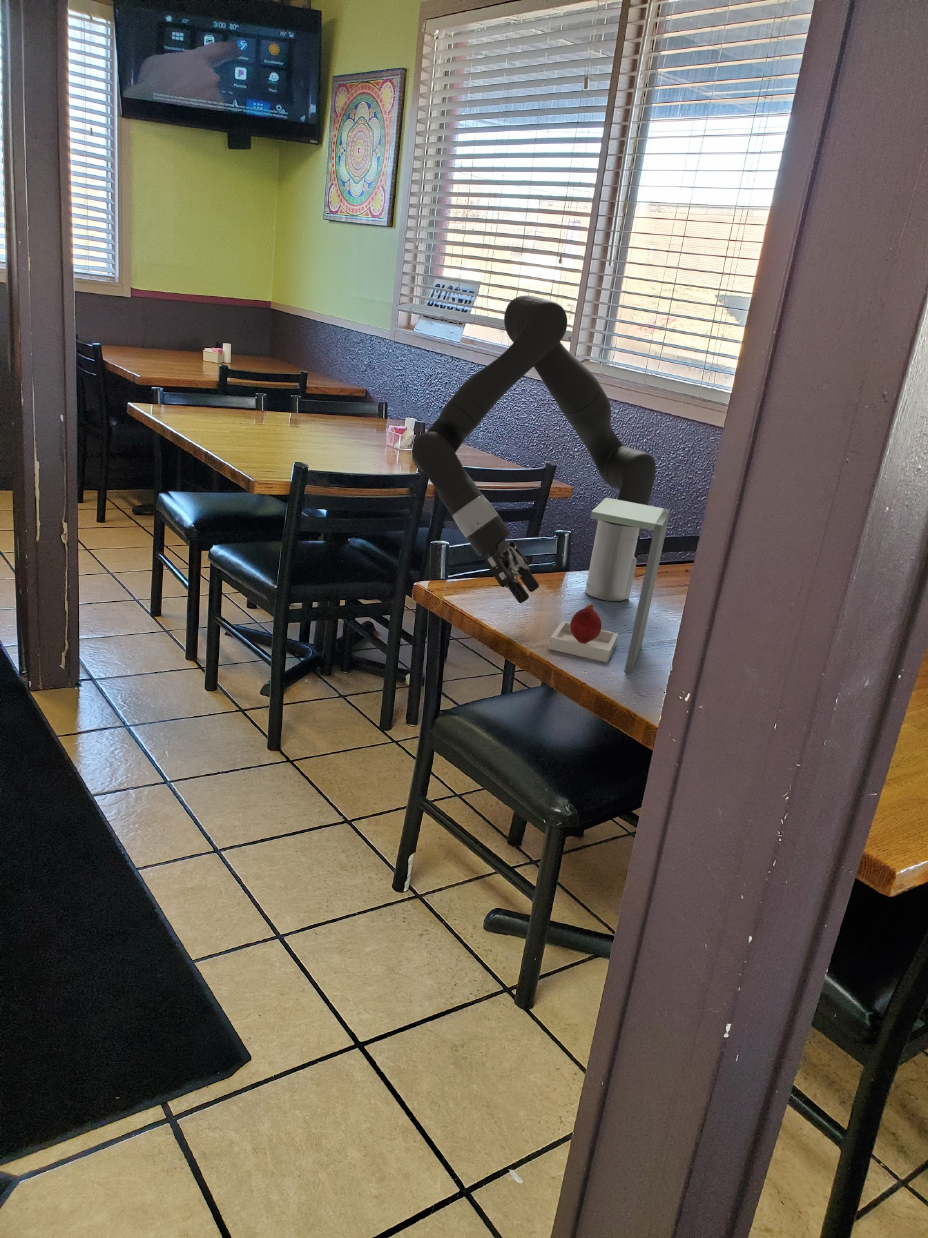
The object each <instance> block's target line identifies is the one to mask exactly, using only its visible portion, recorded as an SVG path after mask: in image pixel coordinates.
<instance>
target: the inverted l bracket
mask: <svg viewBox="0 0 928 1238" xmlns="http://www.w3.org/2000/svg"><path fill="white" fill-rule="evenodd" d="M670 513H671V509H669V508H668V509H667V508H665V507H664V508H662V507H658V506H653V505H649V504H648V505H643V504H637V503H632V502H627V501H622V500H617V498H616V499H615V498H611V497H605V498H603V500H602V501H601V502H600V503H599V504H597V505H596V507H595V508H593V510H591V514H590V519H592V520H597V521H598V520H602V521H607V522H612V523H617V524H622V525H627V526H632V527H637V528H640V529H643V530H648V531H653V533H652V538H651V542H650V547H649V552H648V557H647V562H646V565H645V566H646V567H645V570H644V576H643V580H642V586H641V589H640V595H639V600H638V604H637V610H636V615H635V619H634V623H633V627H632V628H633V629H632V633H631V638H630V641H629V648H628V652H627V653H628V654H627V658H626V663H625V666H624V667H625V668H624V672H626V673H630V674H631V673H632V671H633V669H634V668H635V664H636V661H637V659H638V656H639V654H640V651H641V649H642V646H643V641H644V637H645V632H646V627H647V623H648V617H649V613H650V609H651V604H652V601H653V600H652V599H653V594H654V589H655V585H656V580H657V576H658V570H659V566H660V561H661V557H662V552H663V547H664V542H665V538H666V533H667V529H668V523H669V520H670V519H669V518H670V515H671V514H670Z"/></svg>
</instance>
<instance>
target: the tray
mask: <svg viewBox="0 0 928 1238" xmlns="http://www.w3.org/2000/svg"><path fill="white" fill-rule="evenodd" d="M570 623H571V621H570V622H569V621H565V620H562V621H561V622H560V623H559V625H558V627H556V629H555V630H554V632H553V633H552V635H551V636H550V639H549V646H548V650H552V651H557V652H560V653H565V654H570V655H573V656H578V657H582V658H587V659H591V660H595V661H599V662H603V663H609V661H610V659H611V656H612V654H613V652H614V650H615V649H616V646H617V643H618V638H619V633H618V632H613V631H608V630H605V629H601V631H600V634H599V635H598V636H597V637H596V638H595V639H593V640H592V641H590V642H588V643H586V644H584V643H580V642H578V641H577V640H576V639H575V637H574V636H573V634H572V633H571V629H570Z"/></svg>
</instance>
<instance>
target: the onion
mask: <svg viewBox="0 0 928 1238" xmlns="http://www.w3.org/2000/svg"><path fill="white" fill-rule="evenodd" d="M594 607H595V606H594V605H593V603H588V604H587V605H586V606H585V607H584V608H581V609H579V610H578V611H577V612H576V613H574V614H573V616H572V618H571V621H570V629H571V633H572V634H573V636H574V637H575V639H576V640H577V641H578V642H580V643H584V644H586V643H588V642H590V641H592V640H593V639H595V638H596V637H597V636H598V635H599V634H600V631H601V630H602V619H601V616H600V615H599V614H598V613H597V611H596V610H594Z"/></svg>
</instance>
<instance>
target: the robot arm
mask: <svg viewBox="0 0 928 1238" xmlns="http://www.w3.org/2000/svg"><path fill="white" fill-rule="evenodd" d="M503 323H504V328H505V331H506V334H507V336H508V338H509V339H510V340H511V341H512V344H511V345H510V346H509V347H508V348H507V349H506V350H505V351H504V352H503V353H502V354H501V355H500V356H498V357H497V358H496V359H494V361H492V362H491V363H489V364H488V365H486V366H485V367H482V368H481V369H480V370H478V371H477V372H475V374H473V375H472V376H470V377H469V378H468V379H467V380H466V381H465V382H464V383H462V385H460V387H459V388H458V390H457V391H456V392H455V393H454V394H453V396H452V397H451V398H450V399H449V400H448V402H446V404H445V406H444V407H443V408H442V410H441V412H440V414H439V416H438V418H437V419H436V420H435V422H434V423H433V424H432V425H431V426H430V427H429V428H428V430H427V431H426V432H423V433H421V434H419V435H418V436H417V437H416V438H415V439H414V442H413V443H412V449H411V457H412V462H413V464H414V466H415V467H416V468H417V469H418V470H419V471H421V473H424V474H425V476H426V477H427V478H428V481H430V482H431V485H433V487H434V489H436V492H437V495H438V497H439V498H440V500H441V502H442V504H443V505H444V506H445V508H446V509H447V510H448V512H449V513H450V515H451V516H452V518H453V520H454V521H455V524H456V525H457V526H458V529H459V530H460V531H461V533H462V534H463V536H464V538H465V539H466V540H467V541H468V543H469V545H470V546H471V547H472V549H473V550H474V552H475V553H476V554H477V555H478V556H483V555H484V554H486V553H487V554H488V558H487V559H486V560H484V563H485V565H486V567H487V569H489V571H490V573H491V574H492V575H493V577H494V579H496V581H497V583H498V584H499V586H500V587H501V588H506V589H508V590H509V591H510V592H511V594H512V596H514V598H515V600H516V601H517V602H518V604H523V603H525V602H526V601H527V600H528V599H530V595H529V594H528V592H530V593H533V592H534V591H536V590H538V589H539V587H540V583H539V582H538V581H537V580H536V578H535V576H534V575H533V574H532V572H531V571H530V569H531V568H530V565H531V562H530V561H529V560H528V559H527V557H526V556H525V555H524V553H523V552H522V551H521V549H520V547H518V544H516V542H515V541H514V539H512V540H510V541H508V542H507V540H506V539H507V538H509V537H510V535H511V532H512V531H511V530H510V529H509V528H508V527H507V525H506V524H505V522H504V521H503V519H502V518H501V516H500V515H499V513H498V512H497V510H496V509H495V508H494V506H493V505H492V503H491V502H490V501H489V500H488V499H487V498H486V496H485V495H484V494H483V493H482V492H481V490H480V488H479V487H478V486H477V484H476V483H475V482H474V480H473V479H472V478H471V476H470V475H469V474H468V472H467V471H466V469H465V468H464V466H463V464H462V463H461V460H460V459H459V457H458V455H457V454H456V453H457V451H458V450H459V449H460V447H461V446H462V444H463V442H464V441H465V440H466V439H467V438H468V436H470V434H472V432H474V430H475V429H476V428H477V427H478V426H479V425H480V423H481V422H482V421H483V419H484V418H485V417H486V416H487V415H488V414H489V412H490V411H491V410H492V409H493V407H494V406H495V405H496V404H497V403H498V401H499V400H501V399H502V397H503V396H504V395H505V394H506V393H507V392H508V391H509V390H510V389H511V388H512V387H513V386H514V385H515V384H517V382H518V381H520V380H521V379H522V378H523V377H524V376H525V375H526V374H527V373H528V372H529V371H531V369H533V368H534V369H535V371H536V373H537V374H538V376H539V377H540V379H541V380H542V382H543V384H544V386H545V388H547V390H548V392H549V393H550V395H551V397H553V399H554V401H555V402H556V405H557V406H558V407H559V408H558V409H560V411H561V412H562V414H563V416H564V417H565V418H566V421H568V423H569V424H570V426H571V427H572V429H573V430H574V432H575V433H576V434H577V436H578V437H579V439H580V440H581V442H582V443H583V444H584V446H585V448H586V449H587V451H588V453H589V455H590V457H591V458H592V461H593V464H594V466H595V467H596V469H597V472H598V474H599V475H600V477H601V479H602V480H603V482H604V483H606V484H607V485H608V486H609V487H611V488H613V489H616V490H619V492H618V495H617V498H616V500H622V501H627V502H632V503H637V504H643V505H648V506H649V502H650V499H651V495H652V492H653V491H652V490H653V487H654V484H655V480H656V473H657V464H656V461H655V459H654V457H653V456H652V455H651V454H650V453H648V452H645V451H642V450H639V449H635V448H631V447H628V446H626V445H625V444H624V443H623V442H622V441H621V440H620V438H619V437H618V435H617V434H616V433H615V431H614V430H613V427H612V424H611V421H612V420H611V419H612V408H611V407H612V405H611V402H610V400H609V397H608V396H607V394H606V392H605V391H604V388H603V387H602V385H601V384H600V382H599V381H598V379H597V378H596V376H595V375H594V373H592V372H591V371H590V370H589V369H588V368H587V367H586V366H585V365H584V363H582V362H581V361H580V360H579V359H578V358H577V357H576V356H575V355H573V354H572V352H570V351H569V350H568V349H567V348H566V347H565V346H564V345H563V343H562V342H561V341H562V340H563V338H564V336H565V334H566V331H567V329H568V314H567V312H566V310H565V308H564V307H563V306H562V305H561V304H560V303H558V302H555V301H553V300H551V299H546V298H544V297H539V296H535V295H520V296H516V297H514V298H513V299H512V300H511V301H510V302H509V303H508V304H507V307H506V308H505V311H504V317H503ZM640 529H641V528H637V527H632V526H627V525H622V524H617V523H612V522H607V521H602V520H597V526H596V531H595V536H594V537H595V538H594V542H593V548H592V553H591V559H590V564H589V569H588V575H587V579H586V584H585V591H584V592H585V593H586V594H587V595H588V596H591V597H592V598H595V599H598V600H603V601H607V602H608V601H609V602H621V601H624V600H629V599H630V597H631V591H632V586H633V582H634V576H635V571H636V567H637V562H638V560H637V558H636V557H635V553H636V548H637V543H638V539H639V533H640ZM517 575H518V577H519V579H520V580H521V582H522V583H523V584H521V582H520V581H519V579H518V577H517ZM523 585H524V586H525V587H526V589H527V590H528V592H527V590H526V589H525V588H524V587H523Z"/></svg>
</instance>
